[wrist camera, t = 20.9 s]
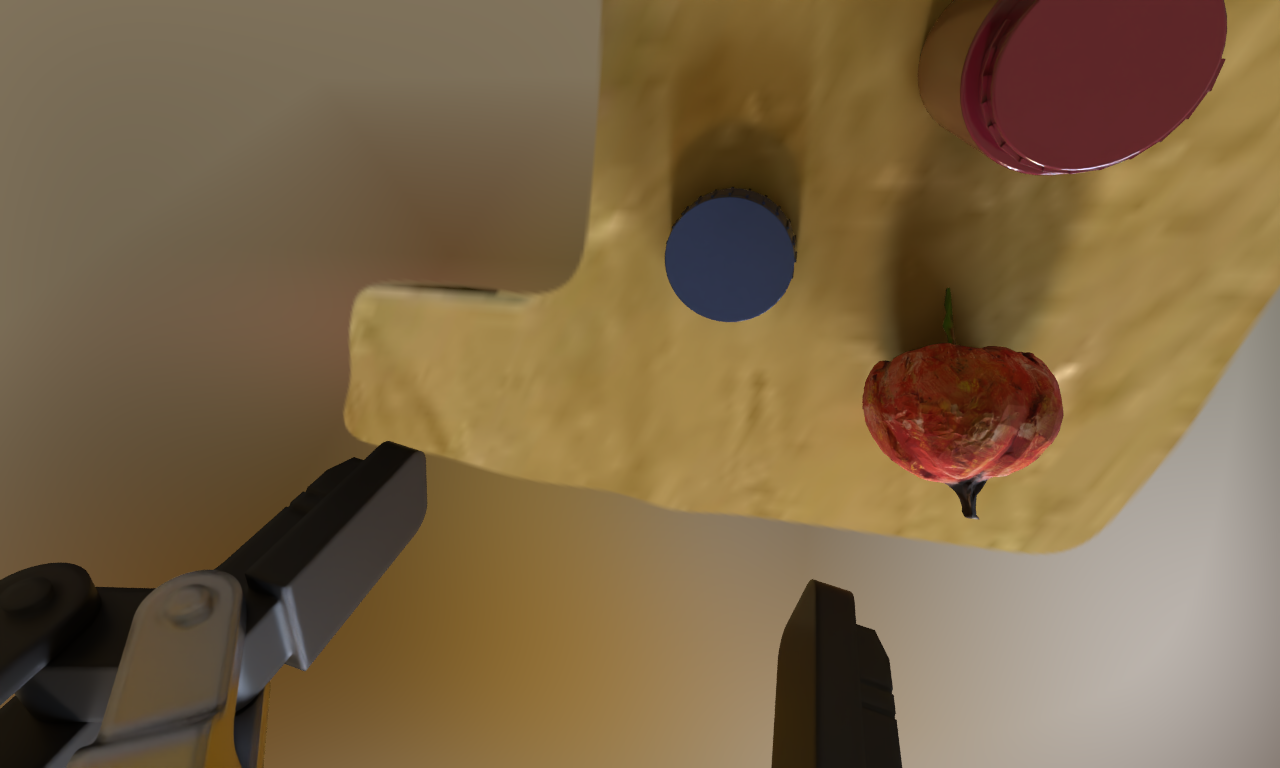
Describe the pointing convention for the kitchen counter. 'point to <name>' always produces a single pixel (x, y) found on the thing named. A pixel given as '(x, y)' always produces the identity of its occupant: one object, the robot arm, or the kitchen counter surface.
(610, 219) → the kitchen counter surface
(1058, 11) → the jar
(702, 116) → the kitchen counter surface
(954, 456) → the pomegranate
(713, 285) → the lid
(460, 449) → the kitchen counter surface
